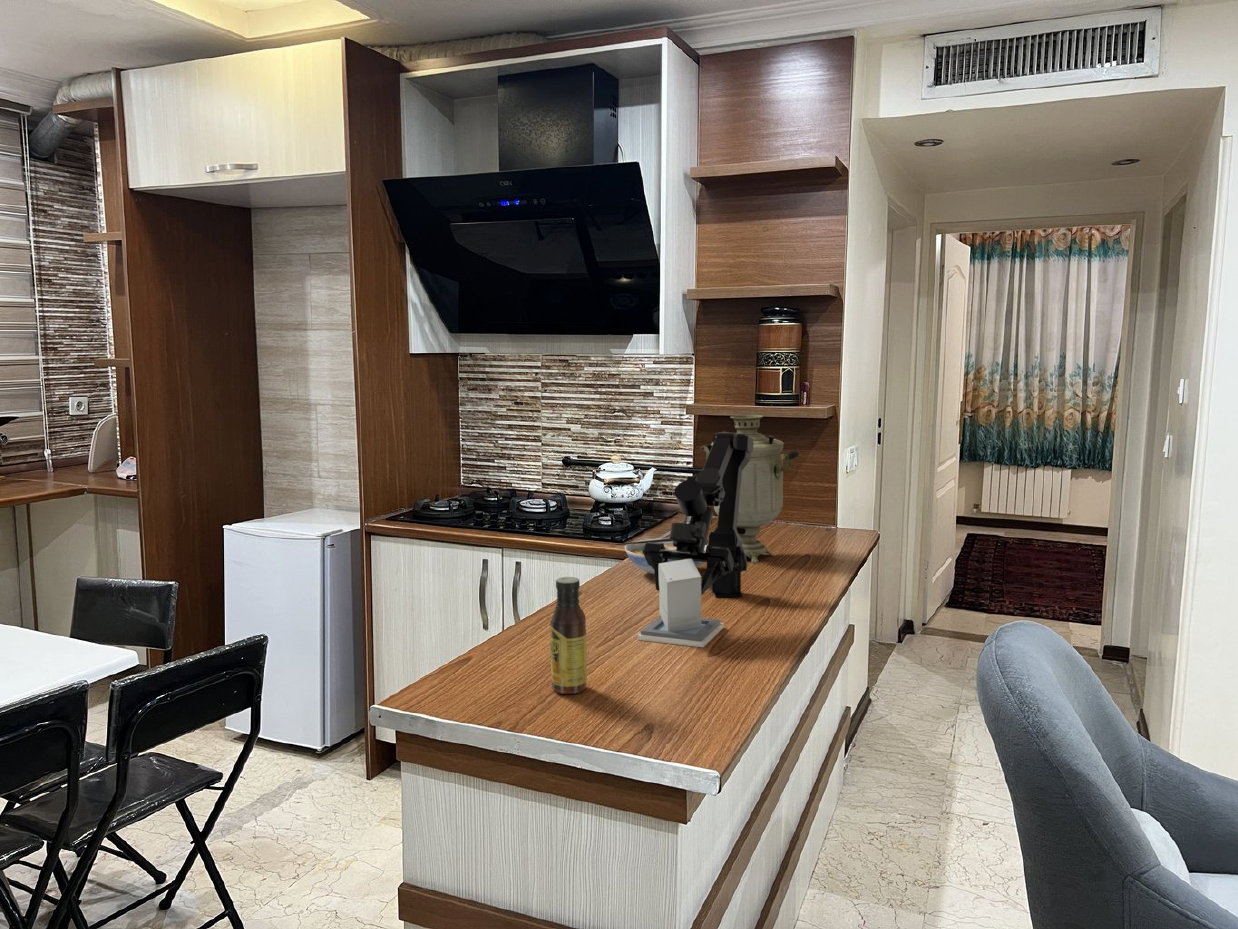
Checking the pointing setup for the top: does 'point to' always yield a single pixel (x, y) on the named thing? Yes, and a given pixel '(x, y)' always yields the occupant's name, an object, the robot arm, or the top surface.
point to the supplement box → (680, 595)
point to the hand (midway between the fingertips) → (678, 591)
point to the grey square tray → (681, 633)
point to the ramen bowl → (638, 557)
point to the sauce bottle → (568, 639)
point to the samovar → (758, 484)
